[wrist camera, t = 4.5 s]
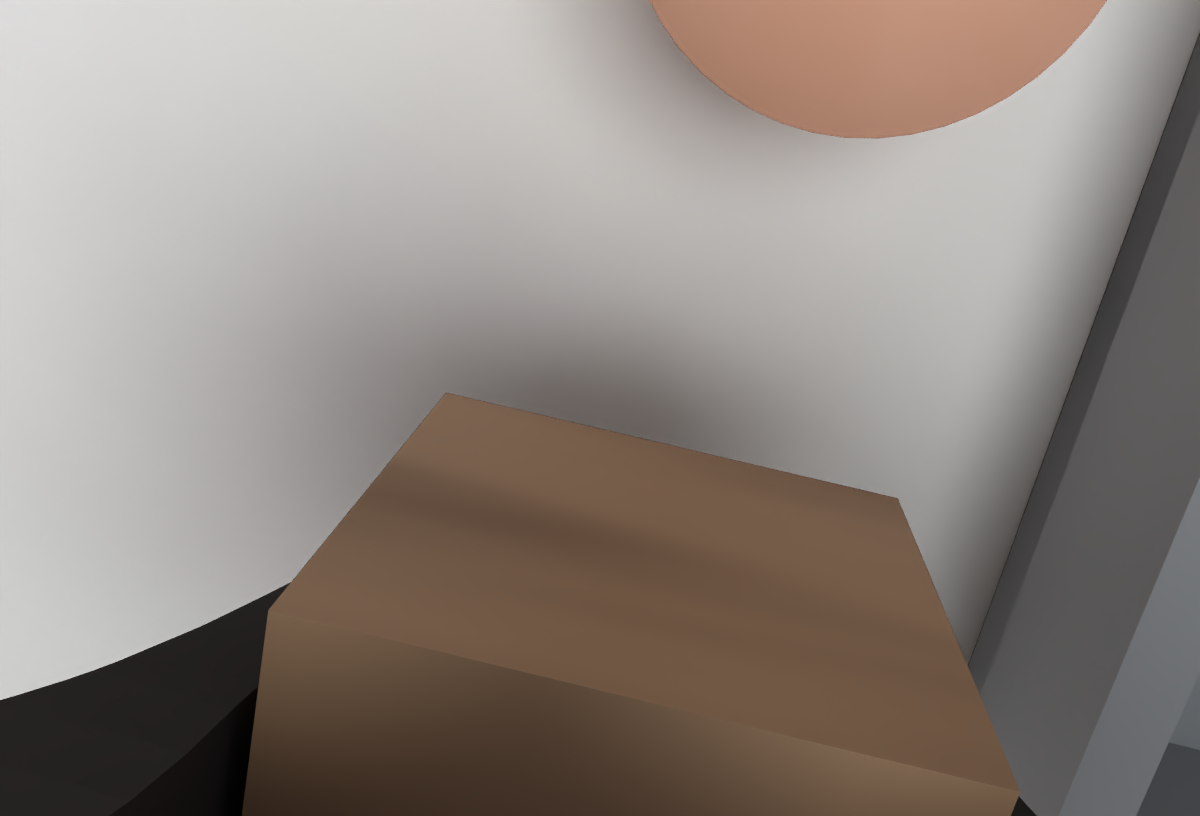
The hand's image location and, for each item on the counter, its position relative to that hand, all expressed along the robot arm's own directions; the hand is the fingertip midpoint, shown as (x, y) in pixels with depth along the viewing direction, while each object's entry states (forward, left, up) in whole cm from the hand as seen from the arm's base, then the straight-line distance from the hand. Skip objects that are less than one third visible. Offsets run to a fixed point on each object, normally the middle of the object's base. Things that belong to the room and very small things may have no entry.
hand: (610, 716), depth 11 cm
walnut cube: (0, 0, -2) cm, 2 cm away
